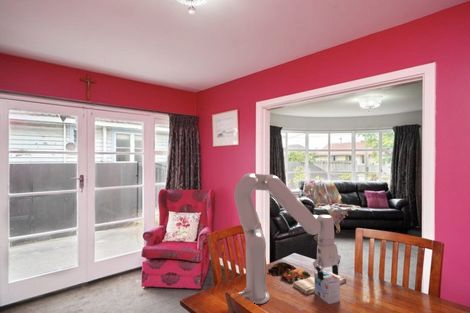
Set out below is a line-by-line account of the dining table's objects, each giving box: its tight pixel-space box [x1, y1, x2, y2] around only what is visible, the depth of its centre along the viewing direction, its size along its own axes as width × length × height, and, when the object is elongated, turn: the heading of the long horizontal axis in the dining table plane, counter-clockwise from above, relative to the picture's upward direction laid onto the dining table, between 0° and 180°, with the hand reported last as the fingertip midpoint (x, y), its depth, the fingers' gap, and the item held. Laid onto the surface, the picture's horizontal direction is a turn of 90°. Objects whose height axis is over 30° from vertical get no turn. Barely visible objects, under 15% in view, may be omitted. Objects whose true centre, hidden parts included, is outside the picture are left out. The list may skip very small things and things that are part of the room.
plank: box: [292, 270, 347, 295], centre depth 137 cm, size 28×10×2 cm, turn 117°
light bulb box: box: [313, 269, 341, 305], centre depth 124 cm, size 11×7×11 cm, turn 21°
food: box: [267, 261, 311, 284], centre depth 150 cm, size 22×19×4 cm
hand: (328, 276), depth 124 cm, fingers open, 9 cm apart
